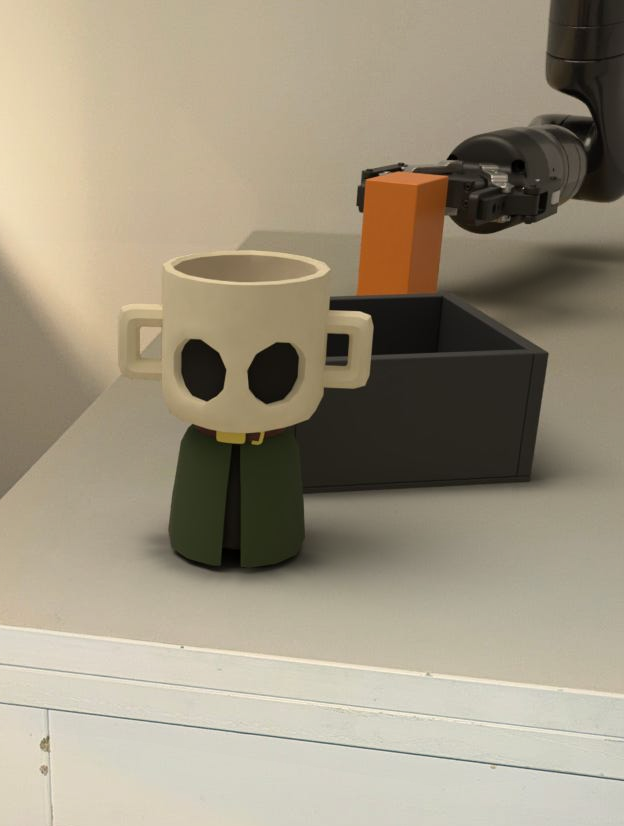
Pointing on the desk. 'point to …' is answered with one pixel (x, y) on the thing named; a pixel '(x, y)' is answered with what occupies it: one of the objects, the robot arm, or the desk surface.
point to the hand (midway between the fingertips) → (416, 204)
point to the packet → (402, 233)
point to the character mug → (242, 391)
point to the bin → (426, 401)
